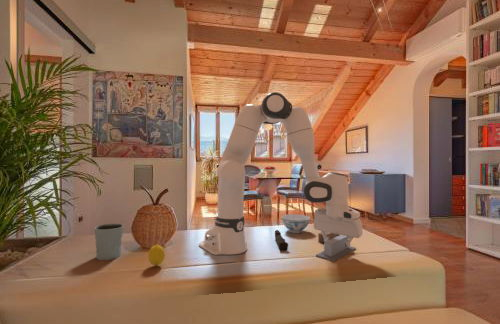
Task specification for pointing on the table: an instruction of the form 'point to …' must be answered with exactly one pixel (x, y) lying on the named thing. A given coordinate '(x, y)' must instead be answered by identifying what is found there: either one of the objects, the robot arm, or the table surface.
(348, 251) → the tool mat
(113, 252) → the blue-grey cup
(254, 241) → the table surface
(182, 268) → the table surface
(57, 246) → the table surface
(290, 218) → the chinaware
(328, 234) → the walnut block
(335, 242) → the bar
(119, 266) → the table surface
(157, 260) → the lemon
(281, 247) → the hand tool
